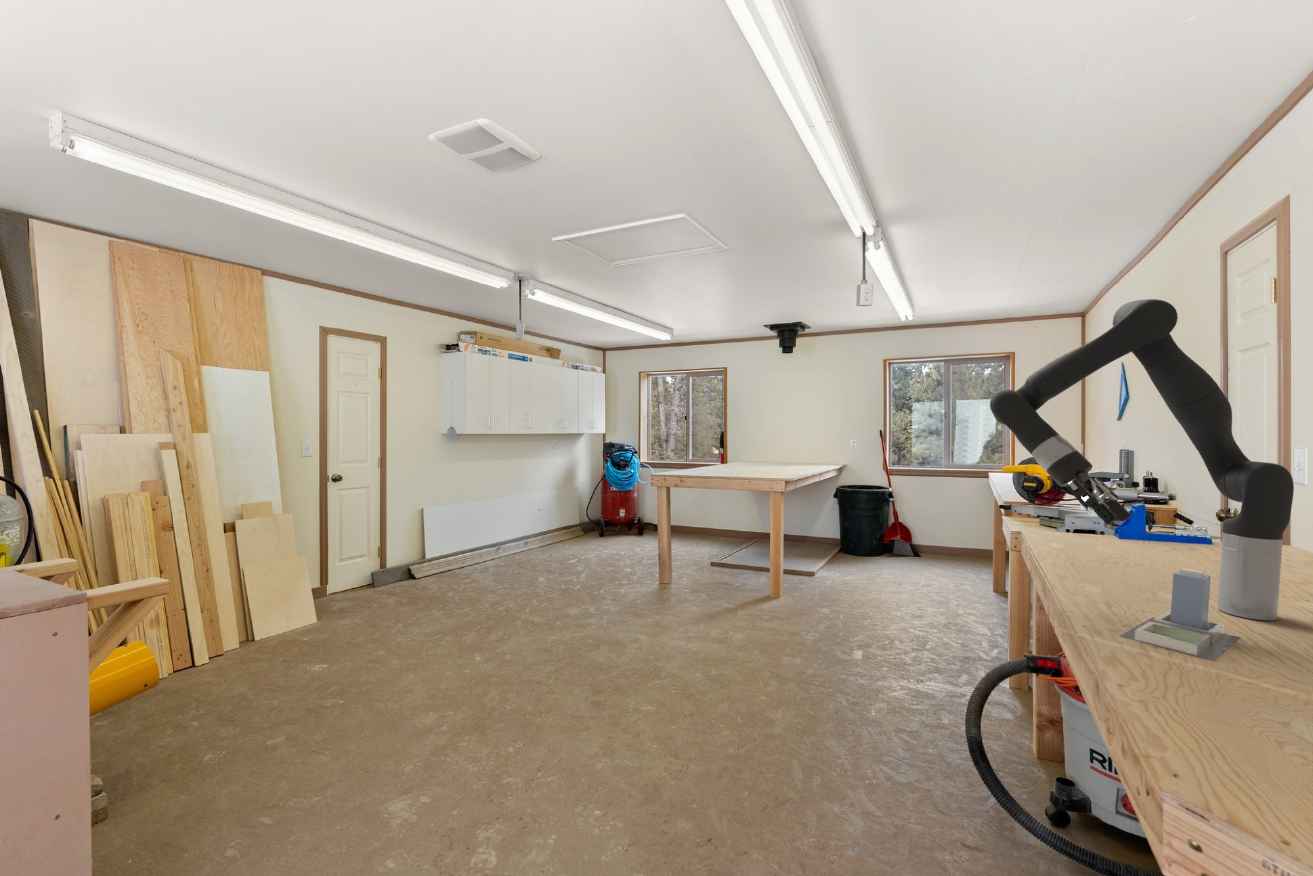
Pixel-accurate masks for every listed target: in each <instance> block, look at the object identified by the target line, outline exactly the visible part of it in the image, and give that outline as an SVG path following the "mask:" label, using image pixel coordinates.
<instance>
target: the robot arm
mask: <svg viewBox="0 0 1313 876" xmlns="http://www.w3.org/2000/svg"><path fill="white" fill-rule="evenodd" d="M1177 323H1178V312H1177V310H1176V308H1175V306H1173V305H1172V303H1170V302H1168V301H1165V300H1162V299H1155V298H1154V299H1153V298H1147V299H1139V300H1138V299H1137V300H1133V301H1129V302H1127V303H1125V304H1122V305H1121V306H1119V308H1117V310H1116V311H1115V313H1114V315H1113V317H1112V327H1111V328H1109V329H1108V330H1106V331H1105V332H1104V333H1102V334H1101V335H1099V336H1098V337H1096V338H1094V339H1092V340H1091V341H1089V342H1087V343H1085V344H1083V345H1081V346H1080V347H1077V348H1074V349H1072V350H1070V351H1069V352H1066V353H1064V354H1063V355H1061V356H1059V357H1057V358H1055V359H1053V360H1052V361H1050V362H1049V363H1047V364H1046V365H1044V366H1042V367H1040V368H1039V369H1038V370H1036V371H1035V372H1033V373H1032V374H1030V375H1029V376H1028V377H1027V378H1026V380H1025V382H1024V384H1023V385H1021V386H1020V387H1019V388H1018V389H1017V390H1013V389H1000V390H998V391H997V392H995V393H994V394H993V395H992V397H991V398H990V401H989V408H990V411H991V413H992V415H993V417H994V419H995V420H996V422H998V423H1000V424H1002V425H1005V426H1006V427H1007V428H1008V429H1009V430H1010V431H1011V432H1012V433H1013V434H1014V436H1015V437H1016V440H1017V441H1018V442H1019V443H1020V445H1022V446H1023V447H1024V448H1025V450H1026V451H1027V452H1028V453H1029V454H1030V455H1031V456H1032V457H1033V458H1034V459H1035V461H1036V463H1037V464H1038V465H1039V466H1040V467H1041V468H1042V469H1043V470H1044V471H1045V472H1046V473H1047V474H1048V476H1050V477H1051V479H1052V480H1054V482H1055V483H1056V484H1057V485H1059V487H1062V488H1063V487H1065V489H1067V490H1068V492H1070V494H1071V495H1072V496H1073V497H1074V498H1075V499H1077V501H1078V502H1079V504H1081V506H1082V507H1083V508H1085V509H1089V510H1090V511H1093V512H1094V513H1095V514H1096V515H1097V516H1098V517H1099V518H1100V519H1101V520H1102V521H1103V522H1104V523H1105V524H1107V525H1110V524H1112V523H1114V522H1115V521H1117V519H1118V520H1119V521H1120V522H1125V521H1126V520H1128V519H1130V518H1131V517H1132V514H1131V513H1130V512H1129V511H1128V510H1127V508H1125V506H1123V504H1121V502H1119V497H1120V496H1119V495H1118V494H1117V493H1115V492H1114V491H1113V490H1112V489H1111V488H1110V487H1109V486H1108V485H1107V484H1106V483H1104V482H1103V481H1102V479H1101V478H1099V477H1098V476H1096V477H1094V478H1093V477H1091V476H1090V475H1089V472H1090V471H1091V470H1092V469H1093V464H1092V463H1091V462H1090V461H1089V460H1088V459H1087V458H1086V457H1085V456H1084V455H1083V454H1082V453H1081V452H1080V451H1078V449H1077V448H1075V447H1074V446H1073V445H1072V443H1070V442H1069V441H1068V440H1067V439H1065V438H1064V437H1063V436H1062V435H1060V434H1059V432H1057V431H1056V430H1055V429H1054V428H1053V427H1052V425H1050V424H1049V423H1048V422H1047V421H1046V420H1044V419H1043V418H1042V416H1041V415H1040V414H1039V413H1038V412H1037V411H1038V410H1039V409H1040V408H1041V407H1043V406H1044V405H1045V404H1046V403H1047V402H1048V401H1050V400H1051V399H1053V398H1056V397H1057V396H1059V394H1061V393H1063V392H1065V391H1066V390H1068V389H1070V388H1071V387H1073V386H1075V385H1076V384H1077V383H1079V382H1080V381H1082V380H1084V379H1085V378H1087V377H1088V376H1090V375H1091V374H1094V373H1096V372H1097V371H1098V370H1100V369H1102V368H1103V367H1106V366H1107V365H1109V364H1111V363H1112V362H1115V361H1116V360H1118V359H1120V358H1122V357H1124V356H1125V355H1128V354H1130V353H1132V354H1133V355H1134V357H1135V358H1136V359H1137V360H1138V362H1140V364H1141V366H1142V367H1143V368H1144V370H1145V371H1146V373H1147V375H1148V377H1149V378H1150V380H1151V382H1152V383H1153V385H1154V387H1155V388H1156V390H1157V391H1158V392H1159V395H1160V397H1161V398H1162V400H1163V401H1164V403H1165V404H1166V406H1167V408H1168V409H1169V411H1170V412H1171V414H1172V415H1173V417H1174V418H1175V419H1176V421H1177V422H1178V423H1179V424H1180V426H1181V427H1182V429H1183V431H1184V432H1185V434H1186V435H1187V437H1188V438H1189V440H1190V441H1191V443H1192V444H1193V446H1194V447H1195V449H1196V450H1197V452H1198V453H1199V455H1200V457H1201V459H1202V460H1203V461H1202V462H1203V463H1204V465H1205V467H1206V468H1207V471H1208V473H1209V475H1210V477H1211V479H1212V482H1213V483H1214V484H1215V486H1216V488H1217V490H1218V491H1219V493H1220V494H1222V495H1223V496H1224V497H1225V498H1226V499H1229V500H1231V501H1234V502H1238V503H1241V506H1240V512H1239V513H1238V514H1237V515H1236V516H1234V517H1230V518H1226V519H1225V520H1223V523H1222V532H1221V534H1222V535H1221V548H1220V549H1221V550H1220V565H1219V567H1220V568H1219V581H1218V582H1219V583H1218V595H1217V610H1219V611H1221V612H1223V613H1226V614H1228V615H1232V616H1237V617H1241V618H1246V619H1252V620H1257V621H1258V620H1259V621H1277V620H1278V611H1279V602H1280V601H1279V597H1280V586H1281V585H1280V583H1281V572H1282V571H1281V569H1282V568H1281V567H1282V552H1283V538H1284V533H1285V531H1286V529H1287V527H1288V526H1289V524H1290V520H1291V515H1292V507H1293V499H1294V490H1295V488H1294V487H1295V486H1294V478H1293V476H1292V474H1291V472H1290V471H1289V470H1288V469H1287V468H1286V467H1284V466H1283V465H1280V464H1278V463H1274V462H1264V461H1262V462H1261V461H1252V460H1250V459H1249V458H1248V457H1247V456H1246V455H1245V454H1244V452H1243V451H1242V449H1241V448H1240V447H1239V445H1238V444H1237V442H1236V441H1235V438H1234V436H1233V430H1232V429H1233V428H1232V427H1233V412H1232V411H1233V410H1232V406H1231V403H1230V401H1229V399H1228V398H1227V396H1226V395H1225V393H1224V392H1223V391H1222V389H1221V388H1220V386H1219V385H1218V383H1217V382H1216V381H1215V379H1214V378H1213V377H1212V376H1211V375H1210V374H1209V373H1208V372H1207V371H1206V370H1205V369H1204V368H1203V367H1201V365H1199V364H1198V363H1197V362H1196V361H1195V360H1193V359H1192V358H1191V357H1190V356H1188V355H1187V354H1186V353H1185V352H1184V351H1183V350H1182V349H1181V348H1180V347H1179V346H1178V345H1177V343H1176V342H1175V340H1174V338H1173V337H1172V335H1171V332H1172V331H1173V330H1174V329H1175V327H1176V325H1177Z"/></svg>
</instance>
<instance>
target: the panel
mask: <svg viewBox="0 0 1313 876" xmlns="http://www.w3.org/2000/svg"><path fill="white" fill-rule="evenodd" d="M1170 619H1171V611H1165V612H1164V613H1162V614H1160V615H1158V616H1157V617H1154V616H1152V617H1151V618H1149V619H1147V620H1146V621H1144V622H1142V623H1141V624H1139V625H1136V626H1134V627H1133V628H1132V629H1130V630H1128V631H1126V632H1124V633H1123V634H1120V635H1119V637H1121V638H1125V639H1127V640H1132V641H1136V642H1140V643H1142V644H1143V643H1144V644H1147V645H1152V646H1155V647H1159V648H1163V649H1167V650H1171V651H1174V652H1179V653H1181V654H1186V655H1190V656H1192V657H1193V656H1194V657H1196V658H1197V657H1198V658H1202V659H1205V660H1210V661H1213V662H1214V661H1216V660H1217V659H1219V656H1221V655H1222V654H1224V652H1226V651H1227V650H1228V649H1229V648H1230V647H1232V646H1233V645H1234V644H1235V643H1236V642H1237V641H1238V640H1239V639H1241V636H1236V635H1232V634H1227V633H1225V627H1226V626H1225V624H1224V623H1219V622H1216V621H1215V622H1213V621H1209V620H1208V624H1207V631H1206V630H1202V629H1198V628H1194V627H1189V626H1185V625H1181V624H1176V623H1172V622H1170Z"/></svg>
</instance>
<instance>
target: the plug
mask: <svg viewBox="0 0 1313 876" xmlns="http://www.w3.org/2000/svg"><path fill="white" fill-rule="evenodd" d="M1210 590H1211V575H1209V574H1208V575H1207V574H1205V571H1202V570H1201V571H1200V570H1195V569H1189V568H1183V567H1182V568H1180V569H1179V570H1178V571H1176V572H1173V575H1172V589H1171V606H1170V613H1171V619H1170V622H1172V623H1176V624H1181V625H1185V626H1189V627H1194V628H1198V629H1202V630H1206V631H1207V624H1208V621H1209V608H1210V607H1209V606H1210Z"/></svg>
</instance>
